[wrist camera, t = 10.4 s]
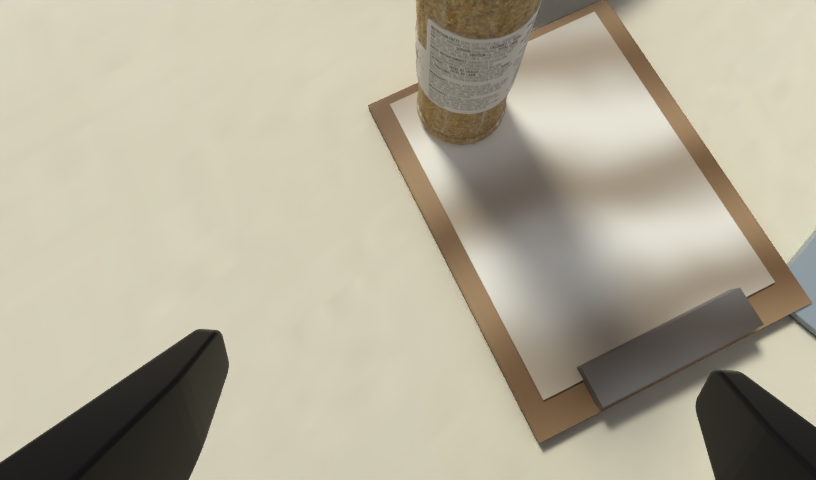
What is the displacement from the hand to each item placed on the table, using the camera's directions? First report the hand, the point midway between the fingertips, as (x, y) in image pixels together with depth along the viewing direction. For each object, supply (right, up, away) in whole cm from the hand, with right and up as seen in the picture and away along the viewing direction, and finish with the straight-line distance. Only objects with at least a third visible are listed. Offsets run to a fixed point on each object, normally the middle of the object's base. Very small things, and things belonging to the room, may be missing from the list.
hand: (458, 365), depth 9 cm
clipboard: (+7, +4, +15) cm, 17 cm away
